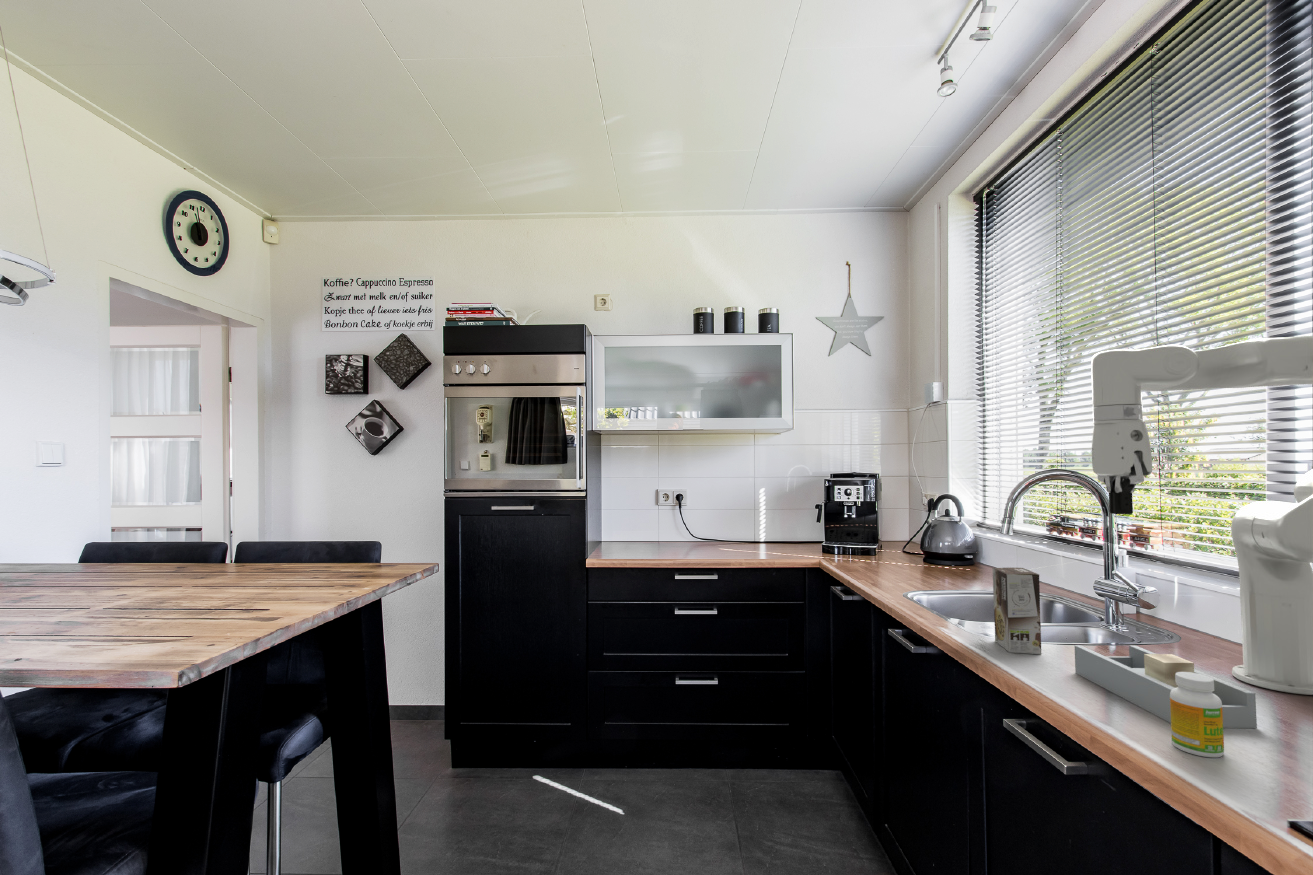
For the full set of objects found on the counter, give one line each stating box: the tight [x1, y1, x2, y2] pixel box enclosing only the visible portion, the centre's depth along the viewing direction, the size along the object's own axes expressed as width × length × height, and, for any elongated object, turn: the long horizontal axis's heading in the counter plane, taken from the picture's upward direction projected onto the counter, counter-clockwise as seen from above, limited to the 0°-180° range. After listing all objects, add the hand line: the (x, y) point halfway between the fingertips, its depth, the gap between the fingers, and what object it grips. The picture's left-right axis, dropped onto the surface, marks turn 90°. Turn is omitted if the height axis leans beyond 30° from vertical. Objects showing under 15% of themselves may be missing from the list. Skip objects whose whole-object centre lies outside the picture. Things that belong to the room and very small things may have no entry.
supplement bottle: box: [1170, 672, 1225, 759], centre depth 85 cm, size 5×5×10 cm
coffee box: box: [992, 567, 1042, 655], centre depth 132 cm, size 9×6×16 cm
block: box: [1144, 653, 1195, 688], centre depth 100 cm, size 4×4×4 cm
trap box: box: [1074, 644, 1258, 729], centre depth 103 cm, size 11×24×5 cm, turn 178°
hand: (1121, 513), depth 117 cm, fingers closed
